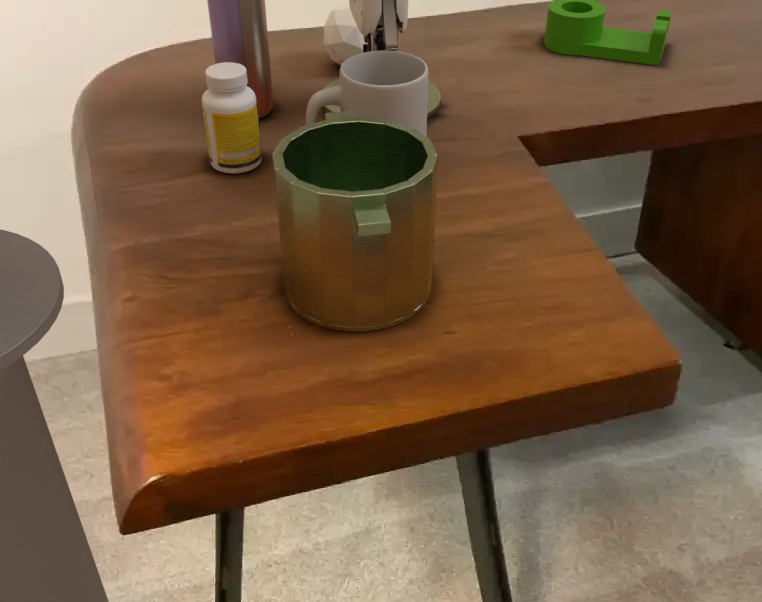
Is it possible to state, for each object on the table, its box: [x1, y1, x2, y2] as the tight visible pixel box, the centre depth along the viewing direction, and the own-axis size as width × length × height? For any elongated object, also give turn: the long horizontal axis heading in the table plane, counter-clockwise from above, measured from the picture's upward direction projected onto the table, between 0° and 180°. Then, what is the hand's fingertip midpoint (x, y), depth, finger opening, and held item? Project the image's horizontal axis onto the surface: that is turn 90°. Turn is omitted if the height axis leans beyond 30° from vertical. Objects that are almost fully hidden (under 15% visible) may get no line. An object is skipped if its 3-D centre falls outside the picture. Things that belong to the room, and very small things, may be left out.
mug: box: [305, 51, 429, 137], centre depth 90 cm, size 12×8×11 cm
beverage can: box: [206, 0, 274, 120], centre depth 99 cm, size 6×6×15 cm
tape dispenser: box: [543, 0, 673, 67], centre depth 116 cm, size 15×7×5 cm, turn 71°
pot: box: [271, 111, 439, 333], centre depth 75 cm, size 13×18×12 cm
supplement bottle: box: [201, 62, 263, 175], centre depth 92 cm, size 5×5×10 cm
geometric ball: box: [322, 0, 367, 66], centre depth 111 cm, size 8×8×8 cm
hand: (380, 84), depth 103 cm, fingers closed on lid, 3 cm apart
